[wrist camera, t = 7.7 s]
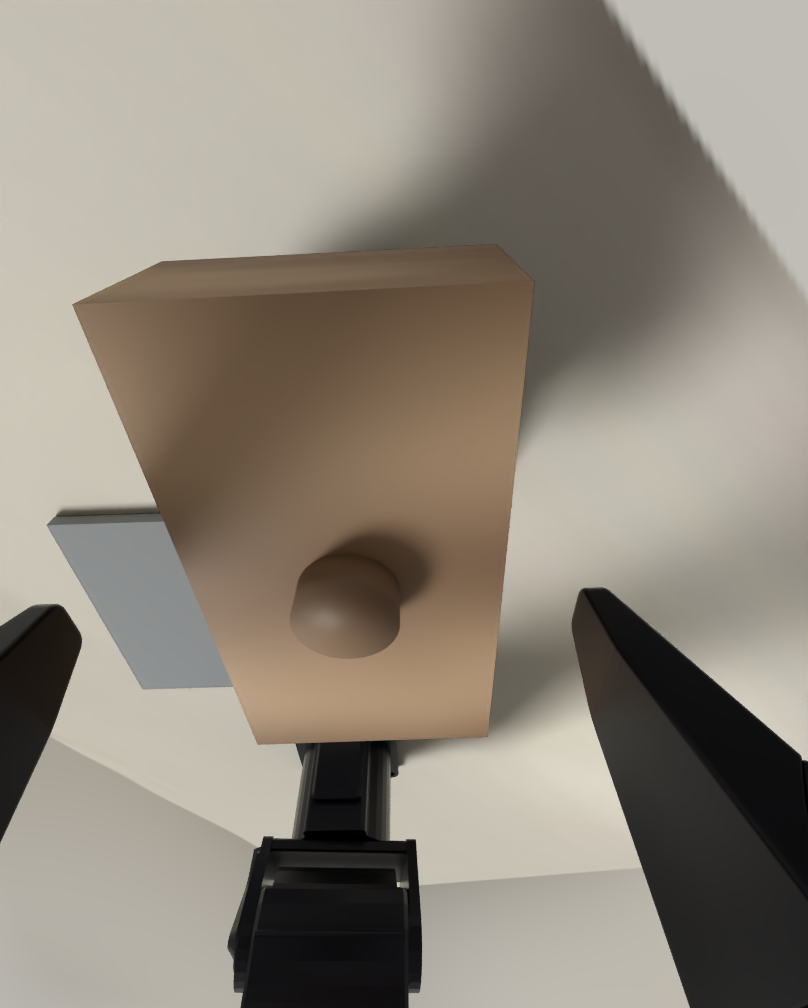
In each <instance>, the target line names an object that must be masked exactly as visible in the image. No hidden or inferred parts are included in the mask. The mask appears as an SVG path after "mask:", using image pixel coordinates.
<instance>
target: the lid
mask: <svg viewBox="0 0 808 1008" xmlns="http://www.w3.org/2000/svg"><path fill="white" fill-rule="evenodd" d="M533 291H534V280H533V279H532V278H531V277H530V276H529V275H528V274H527V273H526V272H525V271H524V270H523V269H522V268H521V267H520V266H518V265H517V264H516V263H515V262H514V261H513V260H512V259H511V258H510V257H509V256H508V255H507V254H506V253H505V252H504V251H503V250H502V249H501V248H500V247H499V246H498V245H497V244H488V245H469V246H450V247H430V248H411V249H392V250H373V251H353V252H334V253H315V254H296V255H277V256H257V257H238V258H219V259H200V260H180V261H162V262H160V263H158V264H156V265H153V266H151V267H149V268H147V269H145V270H143V271H141V272H139V273H137V274H135V275H133V276H131V277H128V278H126V279H124V280H122V281H120V282H118V283H116V284H114V285H112V286H110V287H108V288H106V289H103V290H101V291H99V292H97V293H95V294H93V295H91V296H89V297H87V298H85V299H83V300H81V301H78V302H76V303H74V304H72V305H73V307H74V310H75V312H76V314H77V317H78V319H79V321H80V324H81V326H82V329H83V331H84V333H85V336H86V338H87V340H88V343H89V345H90V348H91V350H92V352H93V355H94V357H95V359H96V362H97V364H98V367H99V369H100V371H101V374H102V376H103V378H104V381H105V383H106V386H107V388H108V390H109V393H110V395H111V397H112V400H113V402H114V404H115V407H116V409H117V412H118V414H119V416H120V419H121V421H122V423H123V426H124V428H125V431H126V433H127V435H128V438H129V440H130V442H131V445H132V447H133V450H134V452H135V454H136V457H137V459H138V461H139V464H140V466H141V469H142V471H143V473H144V476H145V478H146V480H147V483H148V485H149V488H150V490H151V492H152V495H153V497H154V499H155V502H156V504H157V507H158V509H159V511H160V514H161V516H162V518H163V521H164V523H165V526H166V528H167V530H168V533H169V535H170V537H171V540H172V542H173V545H174V547H175V549H176V552H177V554H178V556H179V559H180V561H181V564H182V566H183V568H184V571H185V573H186V575H187V578H188V580H189V583H190V585H191V587H192V590H193V592H194V594H195V597H196V599H197V602H198V604H199V606H200V609H201V611H202V613H203V616H204V618H205V620H206V623H207V625H208V628H209V630H210V632H211V635H212V637H213V639H214V642H215V644H216V647H217V649H218V651H219V654H220V656H221V658H222V661H223V663H224V666H225V668H226V670H227V673H228V675H229V677H230V680H231V682H232V685H233V687H234V689H235V692H236V694H237V696H238V699H239V701H240V704H241V706H242V708H243V711H244V713H245V715H246V718H247V720H248V723H249V725H250V727H251V730H252V732H253V734H254V737H255V739H256V742H257V744H258V745H261V744H291V743H320V742H350V741H379V740H409V739H439V738H468V737H488V728H489V718H490V708H491V699H492V689H493V679H494V669H495V660H496V650H497V640H498V631H499V621H500V611H501V601H502V592H503V582H504V572H505V563H506V553H507V543H508V533H509V524H510V514H511V504H512V495H513V485H514V475H515V465H516V456H517V446H518V436H519V427H520V417H521V407H522V397H523V388H524V378H525V368H526V359H527V349H528V339H529V329H530V320H531V310H532V300H533Z"/></svg>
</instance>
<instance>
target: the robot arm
mask: <svg viewBox="0 0 808 1008" xmlns="http://www.w3.org/2000/svg"><path fill="white" fill-rule="evenodd" d="M572 633H573V638H574V642H575V647H576V652H577V656H578V661H579V665H580V670H581V674H582V679H583V683H584V688H585V692H586V697H587V701H588V706H589V710H590V714H591V718H592V721H593V724H594V727H595V730H596V733H597V736H598V739H599V742H600V745H601V748H602V751H603V754H604V757H605V760H606V763H607V766H608V769H609V771H610V774H611V777H612V780H613V783H614V786H615V789H616V792H617V795H618V798H619V801H620V804H621V807H622V810H623V813H624V815H625V818H626V821H627V824H628V827H629V830H630V833H631V836H632V839H633V842H634V845H635V848H636V851H637V854H638V857H639V859H640V862H641V865H642V868H643V871H644V874H645V877H646V880H647V883H648V886H649V888H650V892H651V894H652V898H653V901H654V903H655V906H656V909H657V912H658V915H659V918H660V921H661V924H662V927H663V930H664V933H665V936H666V939H667V942H668V945H669V948H670V950H671V953H672V956H673V959H674V962H675V965H676V968H677V971H678V974H679V977H680V980H681V983H682V986H683V988H684V992H685V994H686V997H687V1000H688V1003H689V1006H690V1008H808V761H806V760H802V757H801V755H800V754H799V753H797V752H796V751H795V750H794V749H793V748H792V747H790V746H789V745H788V744H787V743H786V742H785V741H784V740H782V739H781V738H780V737H779V736H778V735H777V734H775V733H774V732H773V731H772V730H771V729H770V728H768V727H767V726H766V725H765V724H764V723H763V722H761V721H760V720H759V719H758V718H757V717H756V716H754V715H753V714H752V713H751V712H750V711H749V710H748V709H746V708H745V707H744V706H743V705H742V704H741V703H739V702H738V701H737V700H736V699H735V698H734V697H732V696H731V695H730V694H729V693H728V692H727V691H725V690H724V689H723V688H722V687H721V686H720V685H719V684H717V683H716V682H715V681H714V680H713V679H712V678H710V677H709V676H708V675H707V674H706V673H705V672H703V671H702V670H701V669H700V668H699V667H698V666H696V665H695V664H694V663H693V662H692V661H691V660H689V659H688V658H687V657H686V656H685V655H684V654H683V653H681V652H680V651H679V650H678V649H677V648H676V647H674V646H673V645H672V644H671V643H670V642H669V641H667V640H666V639H665V638H664V637H663V636H662V635H660V634H659V633H658V632H657V631H656V630H655V629H653V628H652V627H651V626H650V625H649V624H648V623H647V622H645V621H644V620H643V619H642V618H641V617H640V616H638V615H637V614H636V613H635V612H634V611H633V610H631V609H630V608H629V607H628V606H627V605H626V604H624V603H623V602H622V601H621V600H620V599H619V598H617V597H616V596H615V595H614V594H613V593H612V592H611V591H609V590H608V589H606V588H603V587H596V588H583V589H581V590H580V592H579V594H578V598H577V602H576V606H575V609H574V613H573V617H572ZM81 645H82V637H81V634H80V632H79V630H78V628H77V627H76V625H75V624H74V622H73V621H72V619H71V618H70V616H69V614H68V613H67V611H66V610H65V609H64V607H62V606H61V605H59V604H40V605H34V606H31V607H29V608H28V609H26V610H25V611H23V612H21V613H20V614H18V615H17V616H15V617H14V618H12V619H11V620H9V621H8V622H6V623H5V624H3V625H1V626H0V842H1V840H2V838H3V836H4V834H5V831H6V829H7V827H8V825H9V823H10V821H11V818H12V816H13V814H14V812H15V809H16V808H17V805H18V803H19V801H20V799H21V797H22V795H23V793H24V790H25V788H26V786H27V784H28V782H29V780H30V778H31V775H32V773H33V771H34V769H35V767H36V765H37V762H38V760H39V758H40V756H41V754H42V752H43V750H44V747H45V745H46V743H47V740H48V738H49V736H50V734H51V731H52V729H53V726H54V724H55V721H56V718H57V716H58V713H59V710H60V707H61V704H62V701H63V698H64V695H65V693H66V690H67V687H68V684H69V681H70V678H71V675H72V672H73V670H74V667H75V664H76V661H77V658H78V655H79V652H80V649H81ZM295 744H296V747H297V750H298V754H299V757H300V760H301V763H302V767H303V768H302V775H301V781H300V788H299V795H298V801H297V808H296V814H295V821H294V828H293V834H292V839H277V838H274V837H272V836H264V837H263V841H262V845H261V847H259V848H256V849H254V853H253V859H252V863H251V868H250V873H249V878H248V881H247V885H246V889H245V892H244V895H243V898H242V901H241V903H240V906H239V909H238V912H237V915H236V918H235V921H234V924H233V927H232V930H231V933H230V936H229V940H228V950H229V952H230V954H231V956H232V958H233V959H234V965H233V969H234V991H235V992H236V993H243V996H242V1002H241V1008H408V993H419V992H420V985H421V973H422V972H421V971H422V927H421V910H420V896H419V881H418V866H417V851H416V839H406V841H390V777H396V776H397V775H398V758H397V745H396V740H379V741H350V742H320V743H295ZM397 882H400V887H397Z"/></svg>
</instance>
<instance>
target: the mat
mask: <svg viewBox="0 0 808 1008" xmlns="http://www.w3.org/2000/svg"><path fill="white" fill-rule="evenodd" d="M47 527H48V528H49V530H50V532H51V534H52V535H53V537H54V539H55V540H56V542H57V544H58V546H59V547H60V549H61V551H62V552H63V554H64V556H65V558H66V559H67V561H68V563H69V564H70V566H71V568H72V570H73V571H74V573H75V575H76V576H77V578H78V580H79V581H80V583H81V585H82V587H83V588H84V590H85V592H86V593H87V595H88V597H89V599H90V600H91V602H92V604H93V605H94V607H95V609H96V611H97V612H98V614H99V616H100V617H101V619H102V621H103V622H104V624H105V626H106V628H107V629H108V631H109V633H110V634H111V636H112V638H113V640H114V641H115V643H116V645H117V646H118V648H119V650H120V652H121V653H122V655H123V657H124V658H125V660H126V662H127V664H128V665H129V667H130V669H131V670H132V672H133V674H134V675H135V677H136V679H137V681H138V682H139V684H140V686H141V687H142V689H173V688H207V687H233V685H232V682H231V680H230V677H229V675H228V673H227V670H226V668H225V666H224V663H223V661H222V658H221V656H220V654H219V651H218V649H217V647H216V644H215V642H214V639H213V637H212V635H211V632H210V630H209V628H208V625H207V623H206V620H205V618H204V616H203V613H202V611H201V609H200V606H199V604H198V602H197V599H196V597H195V594H194V592H193V590H192V587H191V585H190V583H189V580H188V578H187V575H186V573H185V571H184V568H183V566H182V564H181V561H180V559H179V556H178V554H177V552H176V549H175V547H174V545H173V542H172V540H171V537H170V535H169V533H168V530H167V528H166V526H165V523H164V521H163V518H162V516H161V514H160V513H158V514H127V515H97V516H66V517H54V518H53V519H52V520H51V521H50V522H49V523H48V524H47Z"/></svg>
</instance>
